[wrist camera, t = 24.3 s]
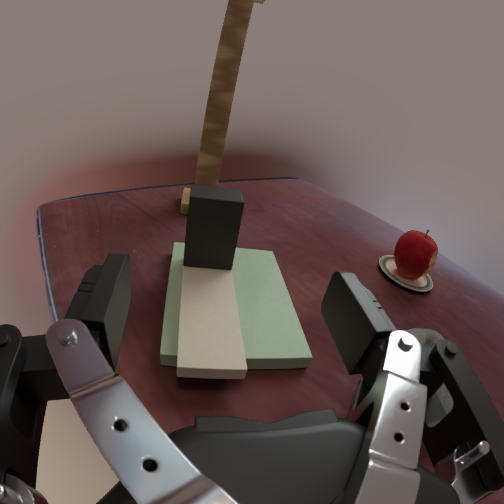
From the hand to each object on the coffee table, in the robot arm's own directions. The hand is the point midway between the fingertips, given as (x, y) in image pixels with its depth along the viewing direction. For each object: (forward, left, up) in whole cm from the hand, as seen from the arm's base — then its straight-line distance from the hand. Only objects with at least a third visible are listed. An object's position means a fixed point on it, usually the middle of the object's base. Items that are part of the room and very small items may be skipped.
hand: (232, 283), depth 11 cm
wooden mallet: (0, +8, -8) cm, 11 cm away
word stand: (0, +29, -9) cm, 31 cm away
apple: (+25, +16, -9) cm, 31 cm away
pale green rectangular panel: (+2, +10, -9) cm, 14 cm away
